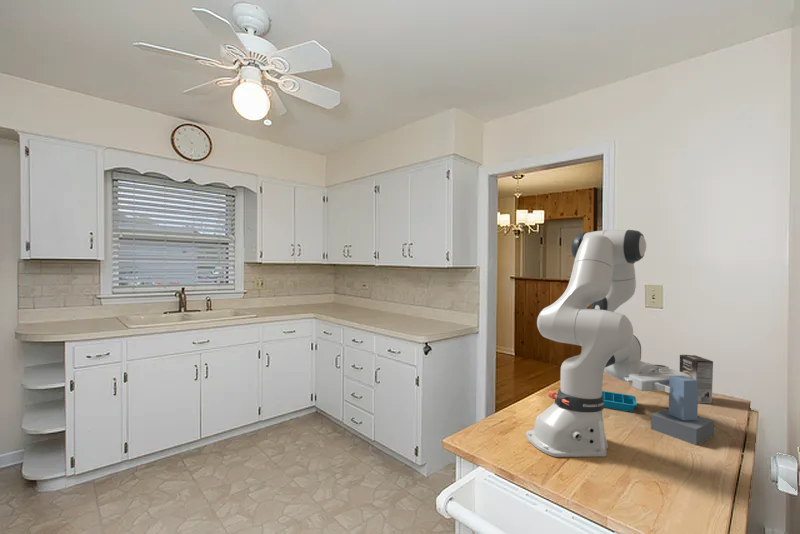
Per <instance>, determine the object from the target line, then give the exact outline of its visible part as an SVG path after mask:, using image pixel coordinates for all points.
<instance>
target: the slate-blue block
mask: <svg viewBox="0 0 800 534" xmlns="http://www.w3.org/2000/svg"><path fill="white" fill-rule="evenodd" d="M669 386H671V387H673V388H674V389H673V393H669V394H668V408H669V415H671V416H674V417H676V418H679V419H681V420H683V421H685V420H697V416H698V412H699V411H698V408H699V407H698V405H699V403H698V380H695V379H692V378H688V377H685V376H669Z"/></svg>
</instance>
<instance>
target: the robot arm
mask: <svg viewBox="0 0 800 534" xmlns="http://www.w3.org/2000/svg"><path fill="white" fill-rule="evenodd" d="M646 251H647V241H646V239H645V236H644V235H643V233H642V232H641V231H639V230H633V229H628V230H623V229H622V230H619V229H618V230H617V229H615V230H613V229H612V230H611V229H610V230H607V229H605V230H604V229H602V230H595V231H589V232H587V231H585V232H580V233H577V234H576V235H575V236H574V237H573V239H572V240H571V254H572V257H573V258H574V261H573V265H572V271H571V273H570V274H571V275H570V279H569V281H568V285H567V287H566V288H565V291H564V292H563V293H562V295H560V297H559V298H558V299H557V300H556V301H554V302H553V303H552V304H550V305H547V306H546V307H544V308H543V309H542V310H540V312H539V314H538V316H537V317H536V327H537V330H538V331H539V334H540V335H541V336H542V337H543V338H544V339H545V338H546V339H548V340H550V341H554V342H557V343H563V344H567V345H569V344H570V345H575V346H581V352H580V353H579V354H578V355H574V356H571V357H568V358H566V359H565V360H564V361H563V362H562V363H561V366H560V388H559V389H558V392H555V391H553V390H549V391H548V392H547V397H549V398H550V399H552V400H554V402H553V403H552V404H551V405H550V406H549V407H548V408H546V409H545V410H544V411H542V412H541V413H540V414H538V415H537V416H536V418H535V422H534V425H533V426H534V428H533V429H530V430H526V433H525V437H526V439H527V441H528V442H529V443H530V444H531V445H532V446H533V447H535V448H537V449H538V450H540V452H543V453H544V454H546V455H549V456H551V457H557V458H560V457H562V458H565V457H568V458H569V457H570V458H572V457H573V458H575V457H578V458H579V457H581V458H582V457H606V456H607V454H608V453H607V449H608V448H609V444H608V439H607V437H606V433H605V431H606V430H605V426H604V418H603V410H604V409H605V407H604V396H603V395H602V391H603V384H604V383H603V382H604V372H606V373H607V374H608V375H610V376H611V377H613V378H615V379H616V380H617V379H618V380H620V381H622V382H625V383H628V385H629V386H630V387H633V388H635V389H637V390H639V391H642V392H652V391H657V390H658V391H665V392H667V393H673V389H674V388H673V387H671V386H669V376H685V377H688V378H692V377H691V376H690V375H688V374H685V373H682V372H680V370H679V371H678V370H676V369H672V368H670V367H669V366H668V365H663V364H653V363H649V362H645V361H642V345H641V342H640V340H639V339H638V337H636V335H634V327H633V325H632V322H631V321H630V319H629V318H628V317H627V316H626V315H625V314H622V313H620V312H615V311H616V310H617V309H618V308H619V307H621V306H622V305H624V304H625V303H627V302H628V301H630V300H631V298H632V297H633V296H634V295H635V292H636V288H637V278H636V270H635V263H637V262H639V261H641V260H642V259H643V258H644V256H645V252H646ZM591 305H592V306H591ZM589 306H591V308H588V307H589ZM692 379H693V378H692Z"/></svg>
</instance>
